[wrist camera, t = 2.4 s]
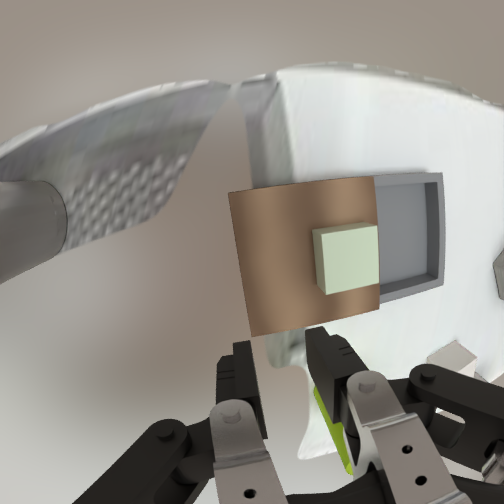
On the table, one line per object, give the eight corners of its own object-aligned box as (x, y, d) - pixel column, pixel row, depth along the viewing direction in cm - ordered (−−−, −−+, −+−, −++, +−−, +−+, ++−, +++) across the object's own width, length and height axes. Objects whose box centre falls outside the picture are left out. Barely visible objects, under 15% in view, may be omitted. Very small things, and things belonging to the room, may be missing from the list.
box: (362, 295, 30) (374, 305, 27) (355, 177, 27) (368, 176, 24) (429, 277, 31) (443, 285, 28) (426, 172, 28) (442, 172, 25)
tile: (317, 284, 25) (326, 294, 22) (312, 229, 24) (321, 234, 21) (366, 274, 25) (379, 282, 23) (363, 221, 24) (377, 225, 22)
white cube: (426, 356, 34) (448, 377, 28) (454, 339, 34) (477, 357, 28) (424, 383, 35) (444, 404, 29) (451, 367, 35) (471, 385, 29)
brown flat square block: (248, 318, 29) (251, 336, 25) (227, 192, 26) (228, 193, 22) (362, 295, 30) (379, 309, 26) (355, 177, 27) (373, 176, 23)
